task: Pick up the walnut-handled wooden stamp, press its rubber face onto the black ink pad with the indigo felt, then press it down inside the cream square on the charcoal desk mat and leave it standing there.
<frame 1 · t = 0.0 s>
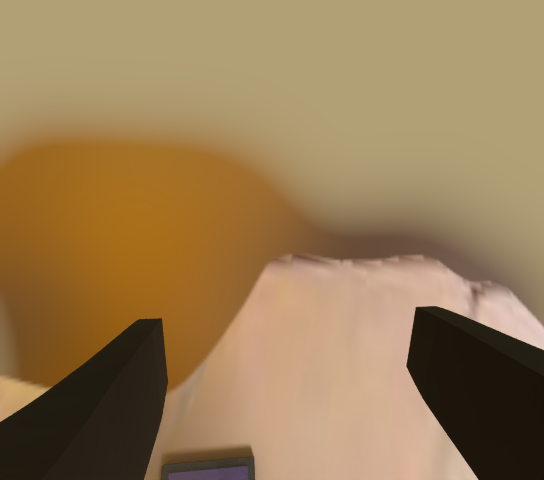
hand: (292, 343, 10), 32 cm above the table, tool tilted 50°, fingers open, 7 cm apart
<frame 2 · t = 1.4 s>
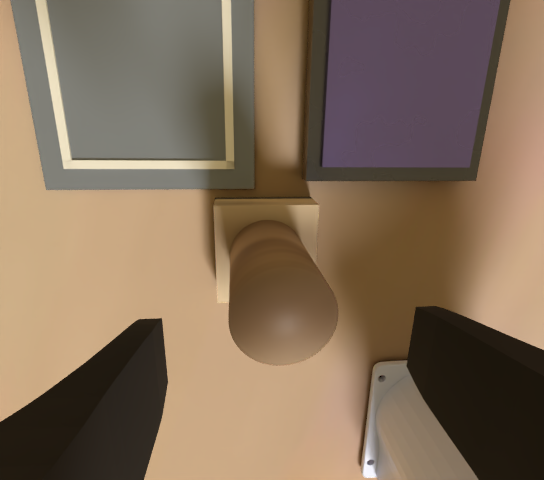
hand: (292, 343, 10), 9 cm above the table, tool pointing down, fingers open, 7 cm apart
desk mat: (144, 79, 16), on the table
ink pad: (395, 86, 17), on the table
stamp: (263, 242, 19), on the table
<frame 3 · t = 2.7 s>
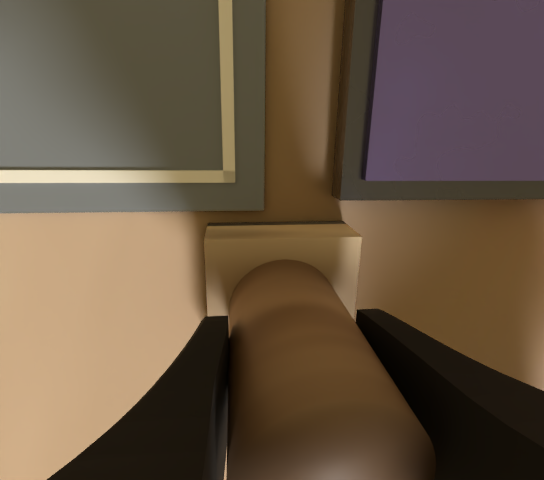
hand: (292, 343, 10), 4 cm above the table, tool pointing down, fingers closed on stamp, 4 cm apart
desk mat: (99, 47, 10), on the table
ink pad: (469, 62, 12), on the table
stamp: (275, 284, 13), on the table, touching gripper
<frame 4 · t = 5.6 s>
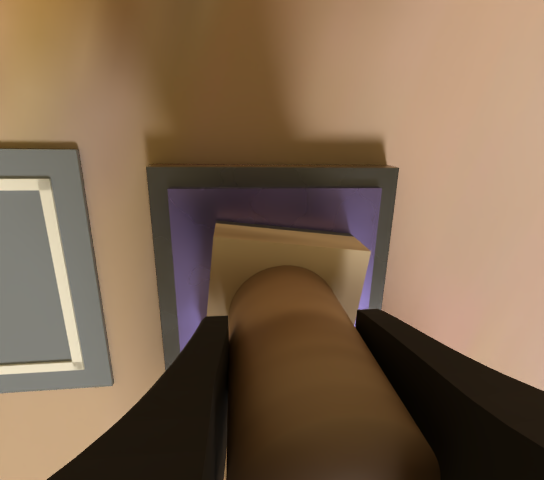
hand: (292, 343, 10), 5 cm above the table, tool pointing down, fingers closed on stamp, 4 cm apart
ink pad: (272, 273, 14), on the table
stamp: (276, 289, 13), point 1 cm above the table, touching gripper, ink pad
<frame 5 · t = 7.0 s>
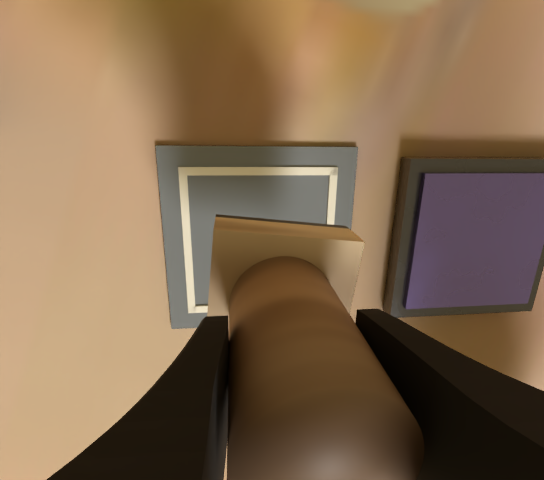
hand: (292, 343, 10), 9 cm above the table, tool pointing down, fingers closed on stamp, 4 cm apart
desk mat: (259, 241, 19), on the table
ink pad: (465, 236, 20), on the table
stamp: (274, 280, 14), point 5 cm above the table, touching gripper
when the fingers open (5 cm above the table, at t = 8.4 s): stamp stays where it is, resting on desk mat.
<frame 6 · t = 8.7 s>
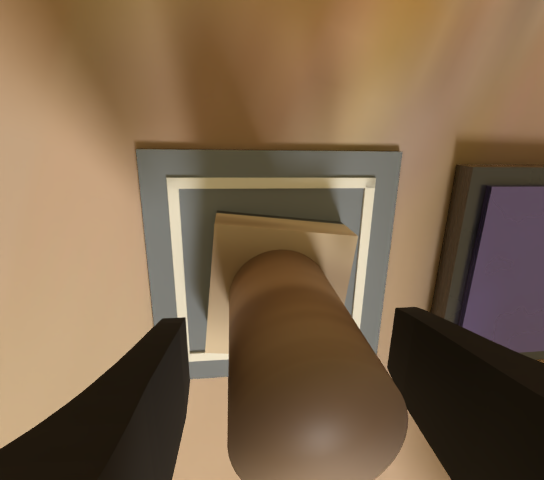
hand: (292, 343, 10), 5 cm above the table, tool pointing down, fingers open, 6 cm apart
desk mat: (272, 272, 14), on the table
ink pad: (530, 264, 16), on the table
stamp: (272, 274, 14), resting on desk mat
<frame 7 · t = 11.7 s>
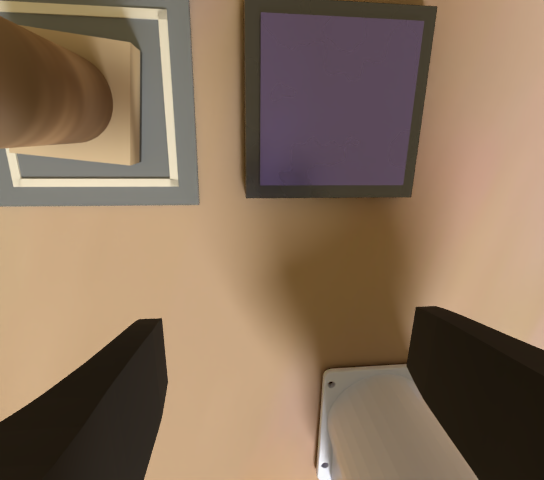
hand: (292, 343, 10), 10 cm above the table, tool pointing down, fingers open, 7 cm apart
desk mat: (88, 102, 16), on the table
ink pad: (331, 108, 18), on the table
stamp: (87, 102, 16), resting on desk mat
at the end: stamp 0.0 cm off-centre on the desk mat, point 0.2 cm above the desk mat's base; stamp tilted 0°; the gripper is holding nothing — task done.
